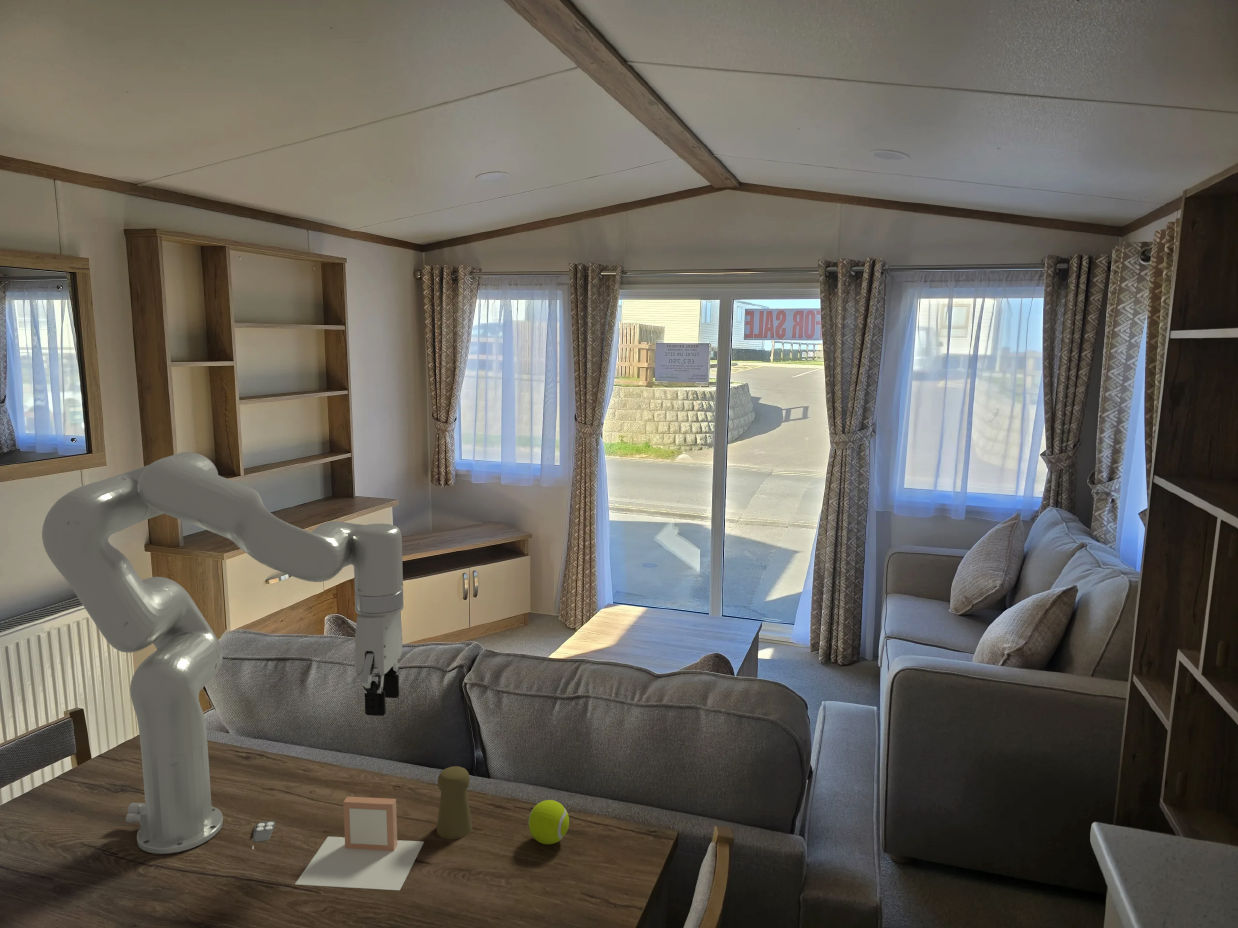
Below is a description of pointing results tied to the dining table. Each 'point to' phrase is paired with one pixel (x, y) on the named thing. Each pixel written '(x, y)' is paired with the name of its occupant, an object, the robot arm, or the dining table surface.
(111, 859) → the dining table surface
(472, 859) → the dining table surface
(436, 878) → the dining table surface
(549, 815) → the tennis ball
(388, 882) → the mat
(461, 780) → the cork
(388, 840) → the tile
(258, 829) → the key chain
